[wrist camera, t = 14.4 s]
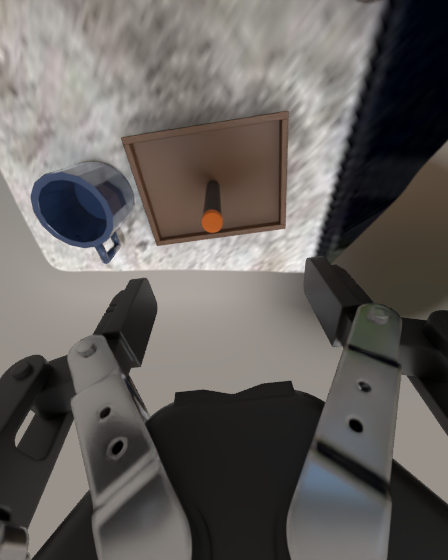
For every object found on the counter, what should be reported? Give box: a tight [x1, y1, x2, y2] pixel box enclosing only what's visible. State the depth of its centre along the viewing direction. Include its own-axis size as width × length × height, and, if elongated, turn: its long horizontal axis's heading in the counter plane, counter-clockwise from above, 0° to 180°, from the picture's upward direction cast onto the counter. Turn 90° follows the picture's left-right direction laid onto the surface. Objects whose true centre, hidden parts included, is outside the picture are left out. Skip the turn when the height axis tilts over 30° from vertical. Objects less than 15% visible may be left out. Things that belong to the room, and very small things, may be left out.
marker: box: [201, 180, 223, 233], centre depth 28 cm, size 2×2×15 cm
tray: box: [121, 111, 289, 246], centre depth 34 cm, size 16×22×2 cm
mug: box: [31, 161, 134, 264], centre depth 32 cm, size 13×9×9 cm
